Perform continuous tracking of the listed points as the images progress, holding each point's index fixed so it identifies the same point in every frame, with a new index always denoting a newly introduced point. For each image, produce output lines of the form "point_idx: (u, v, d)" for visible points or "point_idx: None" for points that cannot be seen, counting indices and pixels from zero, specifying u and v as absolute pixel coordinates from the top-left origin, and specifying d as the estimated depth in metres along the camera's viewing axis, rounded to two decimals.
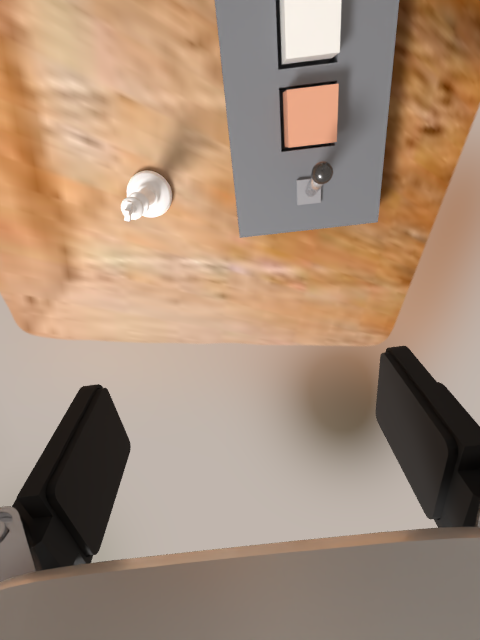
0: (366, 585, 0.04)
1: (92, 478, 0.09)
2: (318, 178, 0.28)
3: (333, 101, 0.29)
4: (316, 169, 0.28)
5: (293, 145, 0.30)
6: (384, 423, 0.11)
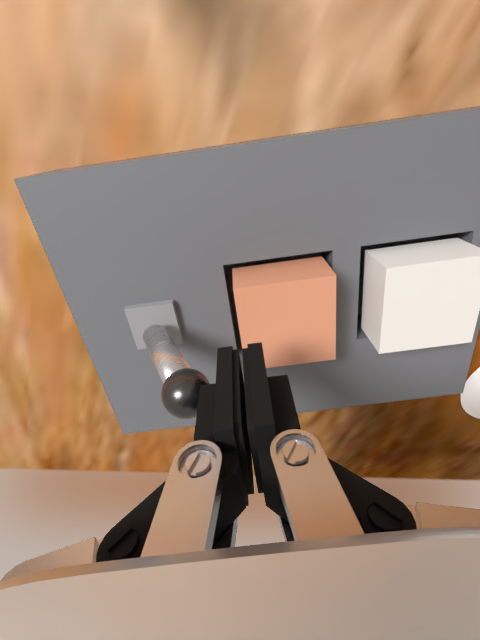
0: (366, 585, 0.04)
1: (245, 426, 0.10)
2: (172, 397, 0.11)
3: (309, 355, 0.16)
4: (192, 388, 0.11)
5: (237, 298, 0.14)
6: None
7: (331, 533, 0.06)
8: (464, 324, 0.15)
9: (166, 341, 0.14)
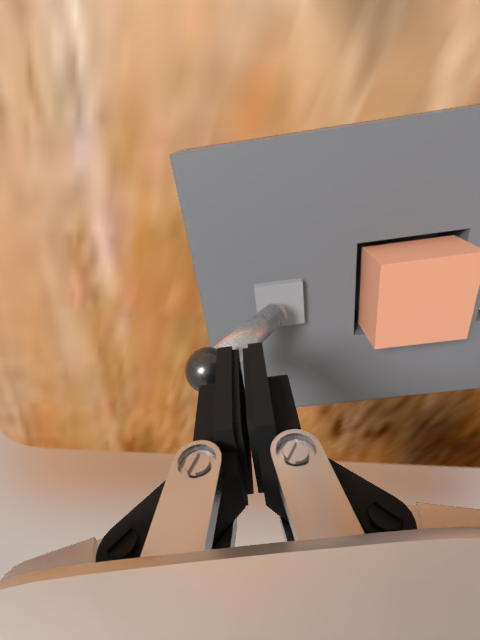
0: (366, 585, 0.04)
1: (245, 426, 0.10)
2: (187, 362, 0.13)
3: (441, 334, 0.16)
4: (197, 367, 0.12)
5: (383, 274, 0.14)
6: None
7: (332, 533, 0.06)
8: None
9: (255, 322, 0.15)
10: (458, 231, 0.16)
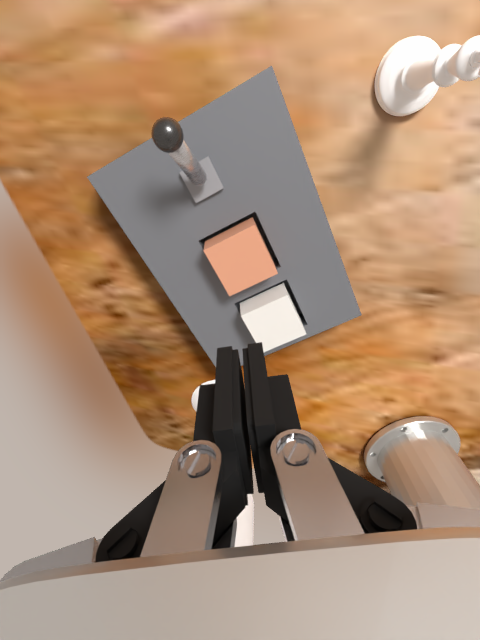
0: (366, 585, 0.04)
1: (245, 426, 0.10)
2: (167, 117, 0.19)
3: (226, 282, 0.27)
4: (172, 125, 0.18)
5: (250, 228, 0.25)
6: None
7: (332, 533, 0.06)
8: (270, 344, 0.30)
9: (197, 162, 0.22)
10: (275, 265, 0.30)
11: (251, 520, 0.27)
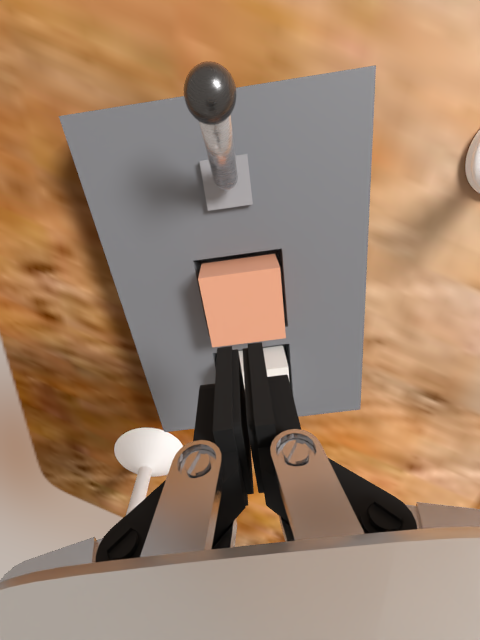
0: (365, 585, 0.04)
1: (245, 426, 0.10)
2: (220, 65, 0.11)
3: (215, 328, 0.19)
4: (226, 79, 0.11)
5: (271, 270, 0.18)
6: None
7: (332, 533, 0.06)
8: None
9: (234, 155, 0.14)
10: None
11: None
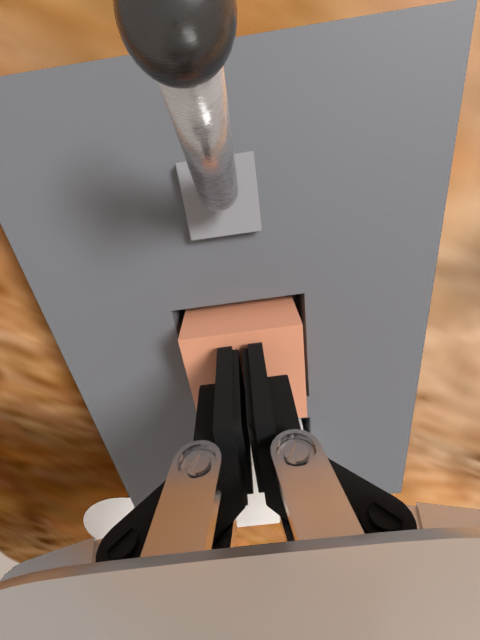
0: (366, 586, 0.04)
1: (245, 426, 0.10)
2: None
3: None
4: None
5: (289, 329, 0.12)
6: None
7: (332, 534, 0.06)
8: (245, 519, 0.16)
9: (232, 154, 0.08)
10: None
11: None
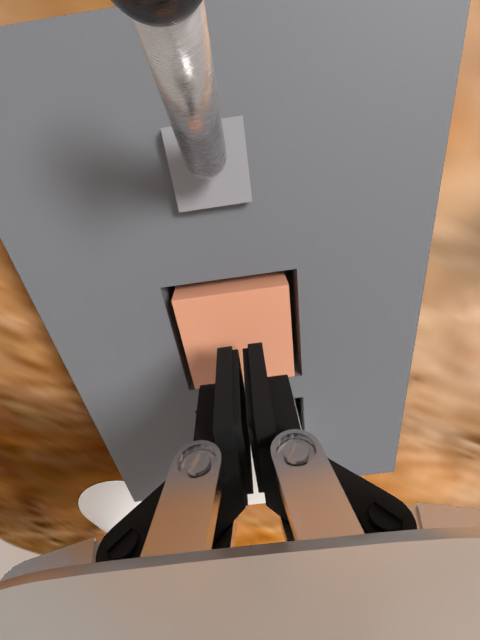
0: (366, 585, 0.04)
1: (245, 426, 0.10)
2: None
3: (198, 365, 0.14)
4: None
5: (276, 289, 0.12)
6: None
7: (332, 533, 0.06)
8: None
9: (218, 113, 0.07)
10: None
11: None
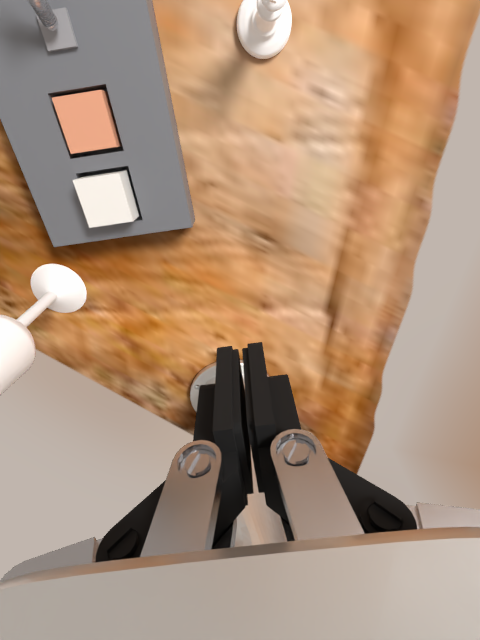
0: (366, 585, 0.04)
1: (245, 426, 0.10)
2: None
3: (70, 138, 0.30)
4: None
5: (96, 92, 0.29)
6: None
7: (332, 533, 0.06)
8: (98, 220, 0.33)
9: None
10: None
11: (18, 359, 0.29)
